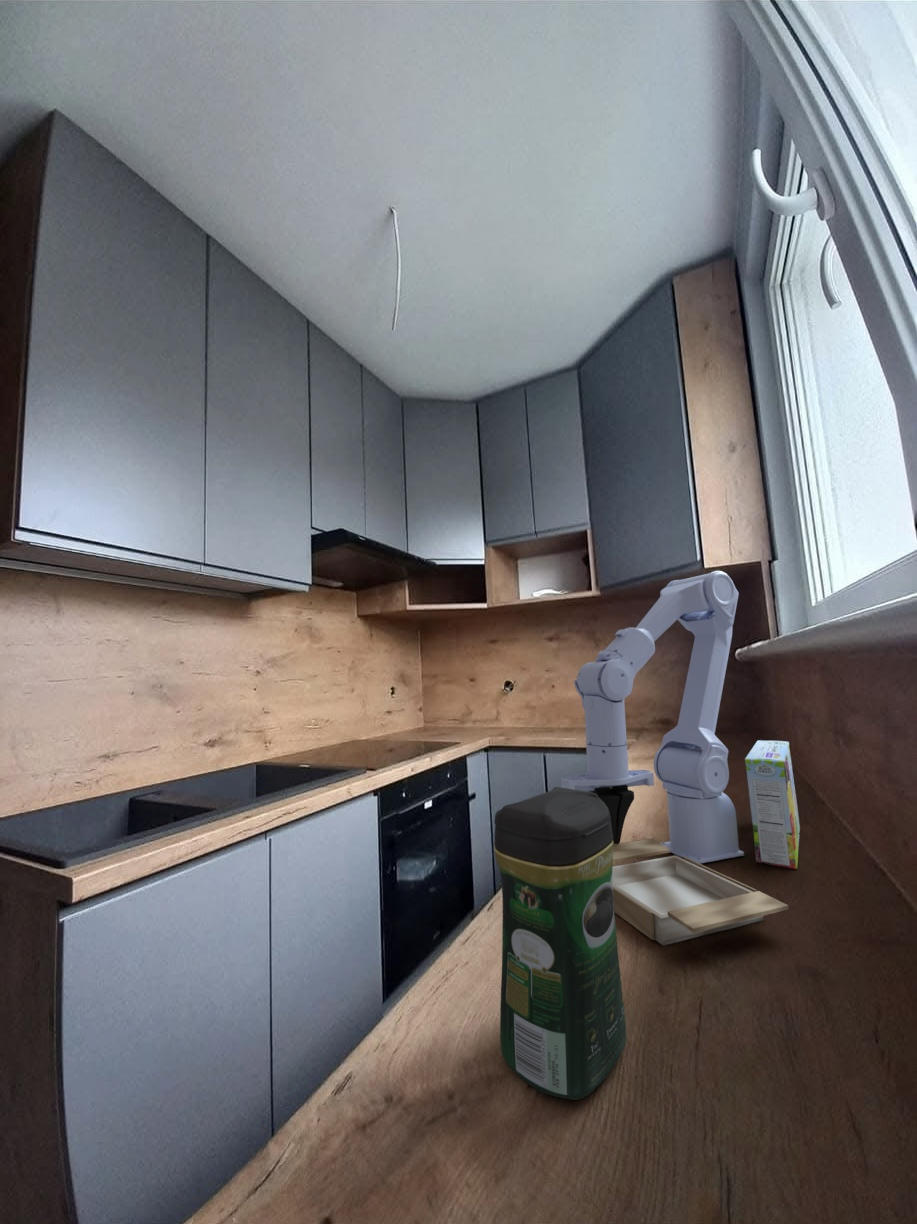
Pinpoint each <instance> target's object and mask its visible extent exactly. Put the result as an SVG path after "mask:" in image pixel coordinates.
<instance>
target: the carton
mask: <svg viewBox="0 0 917 1224" xmlns="http://www.w3.org/2000/svg"><path fill="white" fill-rule="evenodd" d="M612 884H613V902H614V914H616V915H617V916H619V917H620V918H622V919H623V920H624V921H626V922H627V923H628V924H630V925H631V926H633V927H634V928H635V929H637V930H638V931H639V932H641V933H642V934H643V935H645V936H646V937H647V938H649V939H650V940H652V941H653V940H654V941H657V942H658V943H659V944H661V945H662V946H667V945H671V944H675V943H679V942H683V941H686V940H690V939H695V938H699V937H702V936H708V935H709V934H715V933H718V932H722V931H725V930H726V931H727V930H731V929H734V928H738V927H743V926H746V925H751V924H754V923H758V922H762V921H764V916H760V917H756V918H752V919H748V920H744V921H740V922H736V923H732V924H728V925H724V926H720V927H716V928H711V929H707V930H703V931H699V932H695V933H693V932H691V931H690V930H688V929H687V928H685V927H684V926H682V925H681V924H679V923H678V922H677V921H675V920H674V919H672V918H671V917H669V916H668V913H667V911H672V910H676V909H680V908H685V907H689V906H694V905H698V904H703V903H707V902H712V901H716V900H721V899H725V898H730V897H734V896H738V895H743V894H747V893H752V892H756V891H758V890H757V889H756V888H753V887H751V886H749V885H747V884H745V883H742V882H741V881H738V880H736V879H734V878H732V877H730V876H727V875H725V874H723V873H722V872H718V871H716V870H714V869H712V868H710V867H708V866H705V865H703V864H702V863H701V864H699V863H697V862H695V861H693V860H690V859H688V858H686V857H684V856H682V857H679V856H677V855H669V856H664V857H659V858H653V859H649V860H643V861H638V862H637V861H636V862H631V863H625V864H620V865H615V866H613V868H612Z"/></svg>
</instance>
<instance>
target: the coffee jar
mask: <svg viewBox="0 0 917 1224" xmlns="http://www.w3.org/2000/svg"><path fill="white" fill-rule="evenodd" d="M494 827H495V828H494V842H493V843H494V846H493V848H494V849H493V850H494V858H495V860H496V864H497V865H498V866H497V867H498V870H499V874H500V881H501V882H500V883H501V894H502V929H501V930H502V934H501V935H502V936H501V938H502V940H501V941H502V943H501V945H502V947H501V948H502V949H501V951H502V952H501V953H502V954H501V981H500V982H501V983H500V1007H499V1008H500V1014H499V1015H500V1017H499V1019H500V1023H499V1024H500V1025H499V1028H500V1029H499V1031H500V1033H499V1034H500V1035H499V1037H500V1042H499V1044H500V1045H499V1046H500V1050H501V1051H500V1052H501V1054H502V1057H503V1059H504V1061H505V1063H506V1064H507V1065H508V1067H509V1068H510V1069H511V1070H512V1071H513V1072H514V1073H515V1074H516V1075H517V1077H519V1079H521V1080H523V1081H524V1082H525V1083H526V1084H528V1085H529V1086H530V1087H532V1088H533V1089H535V1090H537V1091H538V1092H540V1093H542V1094H544V1095H550V1096H553V1097H556V1098H560V1099H565V1100H566V1099H567V1100H568V1099H569V1100H574V1101H575V1100H576V1101H577V1100H581V1099H583V1098H585V1097H586V1096H589V1095H590V1094H591V1093H592V1092H594V1090H595V1089H596V1088H597V1087H599V1086H600V1085H601V1084H602V1082H604V1080H605V1079H606V1078H607V1077H608V1075H609V1074H610V1073H611V1071H612V1070H613V1068H614V1067H615V1066H616V1063H617V1062H618V1061H619V1059H620V1056H622V1055H621V1054H622V1052H623V1051H624V1047H625V1045H626V1042H627V1026H626V1015H625V1003H624V994H623V986H622V985H623V984H622V979H621V976H622V975H621V970H620V969H621V968H620V962H619V961H620V959H619V950H618V949H619V948H618V938H617V928H616V917H615V914H616V913H615V912H614V902H613V884H612V868H613V865H614V864H613V863H614V862H613V845H614V844H613V833H612V826H611V819H610V813H609V810H608V808H607V806H606V805H605V803H604V802H603V801H602V800H601V799H600V798H599V797H598V796H597V794H595V793H592V792H587V791H581V790H575V789H568V788H562V787H561V786H554V787H553V788H552V789H551V790H549V791H546V792H542V793H540V794H538V795H534V796H532V797H529V798H526V799H523V800H521V801H518V802H514V803H510V804H505V805H504V806H503V807H501V808H500V809H498V810H497V811H496V813H495V814H494Z"/></svg>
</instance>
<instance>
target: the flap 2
mask: <svg viewBox="0 0 917 1224" xmlns="http://www.w3.org/2000/svg"><path fill="white" fill-rule="evenodd" d="M787 910H789V905H788V904H786V903H785V902H782V901H780V900H778V899H776V898H774V897H772V896H770V895H768V894H767V893H763V892H761V891H760V890H757V891H756V892H752V893H747V894H743V895H738V896H734V897H730V898H725V899H721V900H716V901H712V902H707V903H703V904H698V905H694V906H689V907H685V908H680V909H676V910H672V911H667V913H668V916H669V917H671V918H672V919H674V920H675V921H677V922H678V923H679V924H681V925H682V926H684V927H685V928H687V929H688V930H690V931H691V932H693V933H695V932H699V931H703V930H707V929H711V928H716V927H720V926H724V925H728V924H732V923H736V922H740V921H744V920H748V919H752V918H756V917H760V916H763V917H764V916H767V915H771V914H775V913H778V912H779V913H780V912H783V911H784V912H785V911H787Z"/></svg>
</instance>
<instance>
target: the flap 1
mask: <svg viewBox="0 0 917 1224" xmlns="http://www.w3.org/2000/svg"><path fill="white" fill-rule="evenodd" d="M661 843H662V842H659V841H658V840H656V839H655V838H646V839H641V840H635V841H634V840H633V841H628V842H620V843H619V844H613V863H617V862H618V863H619V862H622V861H623V862H624V861H630V860H636V859H641V858H646V857H652V856H658V855H663V854H664V855H665V854H670V853H671V852H670V849H668V848H667V847H665V846H664V845H662V844H661Z"/></svg>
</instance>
